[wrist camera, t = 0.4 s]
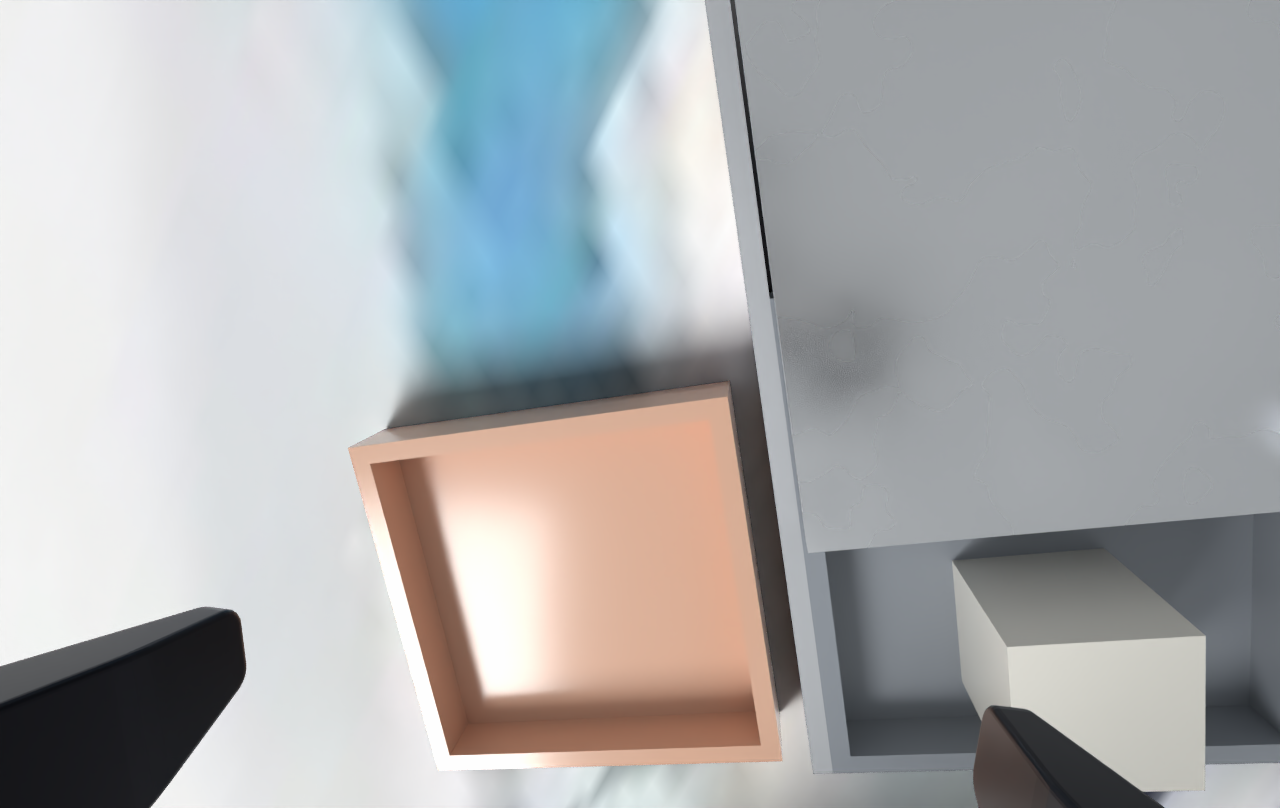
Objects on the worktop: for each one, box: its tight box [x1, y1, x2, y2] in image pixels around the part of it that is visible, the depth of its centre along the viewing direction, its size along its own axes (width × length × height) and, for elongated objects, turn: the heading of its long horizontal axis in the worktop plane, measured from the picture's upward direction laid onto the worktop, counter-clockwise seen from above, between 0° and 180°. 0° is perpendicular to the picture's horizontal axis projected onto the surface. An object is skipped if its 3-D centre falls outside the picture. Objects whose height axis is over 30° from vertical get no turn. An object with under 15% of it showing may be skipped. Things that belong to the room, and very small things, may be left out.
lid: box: [735, 0, 1280, 553], centre depth 14 cm, size 15×17×4 cm
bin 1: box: [348, 381, 783, 771], centre depth 22 cm, size 12×12×2 cm
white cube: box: [952, 548, 1206, 792], centre depth 18 cm, size 4×4×4 cm
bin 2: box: [705, 0, 1280, 774], centre depth 17 cm, size 30×14×2 cm, turn 10°
